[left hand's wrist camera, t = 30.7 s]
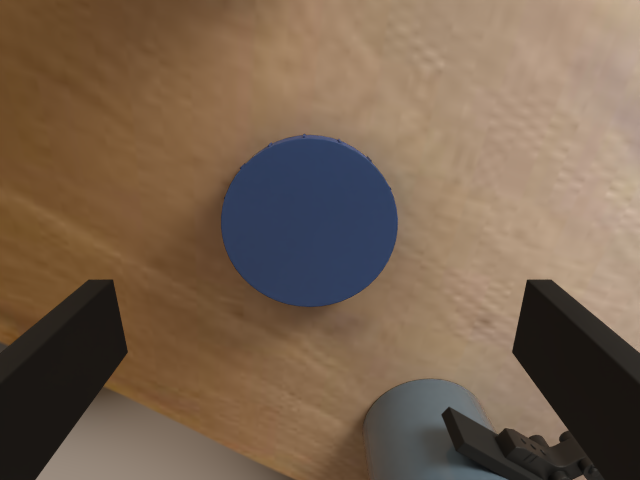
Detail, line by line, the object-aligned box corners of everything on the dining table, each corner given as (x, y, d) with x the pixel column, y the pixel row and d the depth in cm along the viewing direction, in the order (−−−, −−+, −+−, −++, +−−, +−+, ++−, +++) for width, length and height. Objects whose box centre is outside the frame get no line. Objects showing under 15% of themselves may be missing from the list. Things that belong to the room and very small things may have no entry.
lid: (256, 307, 28) (251, 322, 26) (204, 159, 24) (195, 165, 23) (404, 272, 27) (411, 285, 25) (373, 115, 24) (378, 116, 22)
